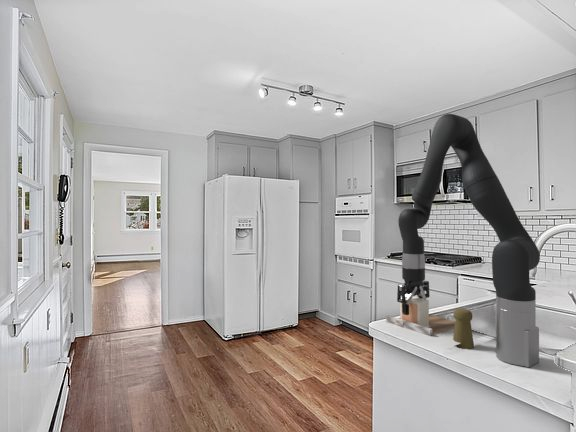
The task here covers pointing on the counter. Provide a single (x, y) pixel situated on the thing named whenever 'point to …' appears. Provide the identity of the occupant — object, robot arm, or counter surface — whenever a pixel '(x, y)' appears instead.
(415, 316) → the carton
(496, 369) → the counter surface
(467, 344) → the olive knobbed cone
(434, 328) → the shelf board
